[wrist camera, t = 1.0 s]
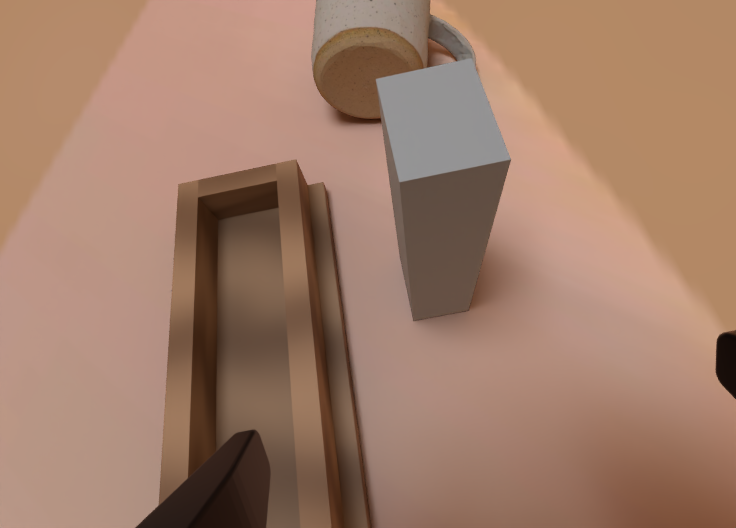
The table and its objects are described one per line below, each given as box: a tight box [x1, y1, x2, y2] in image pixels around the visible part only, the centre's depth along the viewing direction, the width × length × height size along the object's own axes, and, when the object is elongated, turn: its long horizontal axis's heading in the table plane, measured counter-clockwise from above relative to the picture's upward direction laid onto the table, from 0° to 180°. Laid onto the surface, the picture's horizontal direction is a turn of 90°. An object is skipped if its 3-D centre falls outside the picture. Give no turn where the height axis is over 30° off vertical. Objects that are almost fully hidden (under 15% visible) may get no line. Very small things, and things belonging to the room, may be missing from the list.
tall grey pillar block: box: [376, 58, 511, 321], centre depth 18 cm, size 4×3×12 cm
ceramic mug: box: [311, 0, 476, 119], centre depth 27 cm, size 11×8×8 cm
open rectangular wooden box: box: [159, 160, 371, 528], centre depth 21 cm, size 20×9×4 cm, turn 9°
